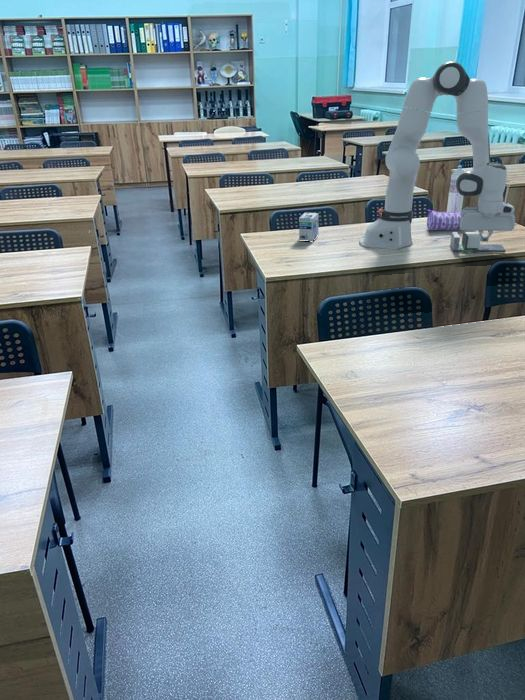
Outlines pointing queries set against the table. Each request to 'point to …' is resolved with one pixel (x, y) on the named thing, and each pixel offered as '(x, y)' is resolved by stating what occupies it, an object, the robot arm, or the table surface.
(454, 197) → the water bottle
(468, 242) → the white cube on plate
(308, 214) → the light bulb box
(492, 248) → the rail
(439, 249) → the table surface
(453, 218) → the pencil case
